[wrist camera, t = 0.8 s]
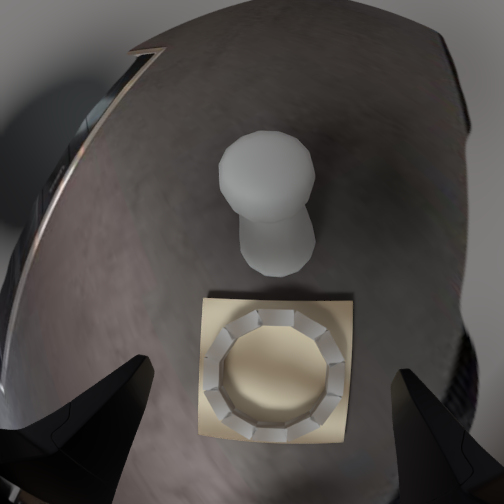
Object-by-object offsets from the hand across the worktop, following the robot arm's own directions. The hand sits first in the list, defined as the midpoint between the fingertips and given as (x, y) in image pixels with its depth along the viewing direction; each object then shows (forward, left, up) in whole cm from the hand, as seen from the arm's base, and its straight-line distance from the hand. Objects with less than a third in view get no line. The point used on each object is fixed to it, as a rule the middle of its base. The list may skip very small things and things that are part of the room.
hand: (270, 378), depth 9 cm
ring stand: (-2, -1, -13) cm, 13 cm away
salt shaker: (+5, +7, -13) cm, 16 cm away
